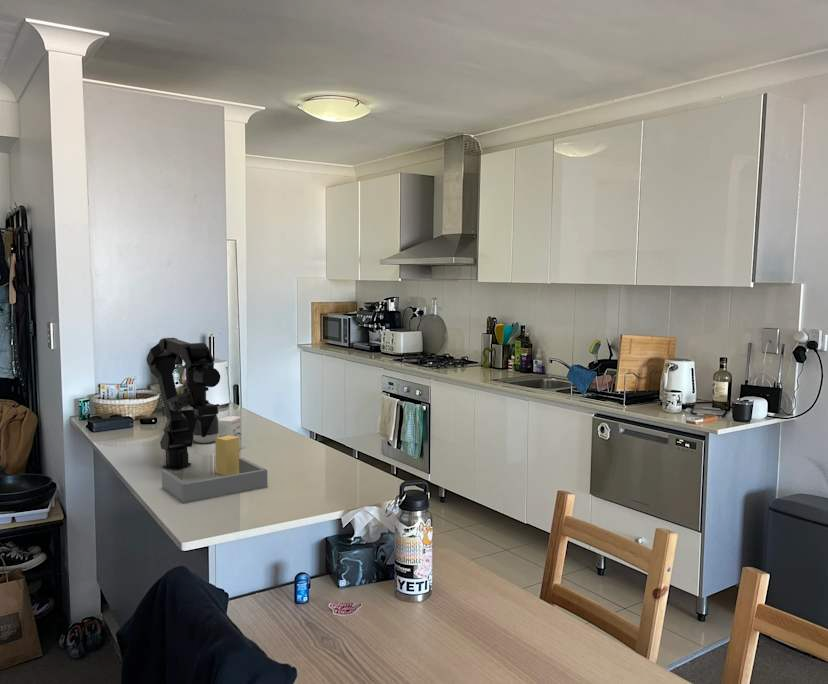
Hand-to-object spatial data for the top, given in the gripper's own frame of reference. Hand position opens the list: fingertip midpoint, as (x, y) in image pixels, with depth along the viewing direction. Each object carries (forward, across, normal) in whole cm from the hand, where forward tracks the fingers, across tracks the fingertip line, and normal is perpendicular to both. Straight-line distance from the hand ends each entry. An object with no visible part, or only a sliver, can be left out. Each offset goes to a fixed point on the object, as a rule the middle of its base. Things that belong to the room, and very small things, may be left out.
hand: (197, 434), depth 212 cm
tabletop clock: (+12, -68, +24) cm, 73 cm away
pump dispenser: (+12, -43, +20) cm, 49 cm away
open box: (+13, +16, -2) cm, 21 cm away
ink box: (+13, -24, +22) cm, 35 cm away
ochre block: (+13, +5, +7) cm, 16 cm away
